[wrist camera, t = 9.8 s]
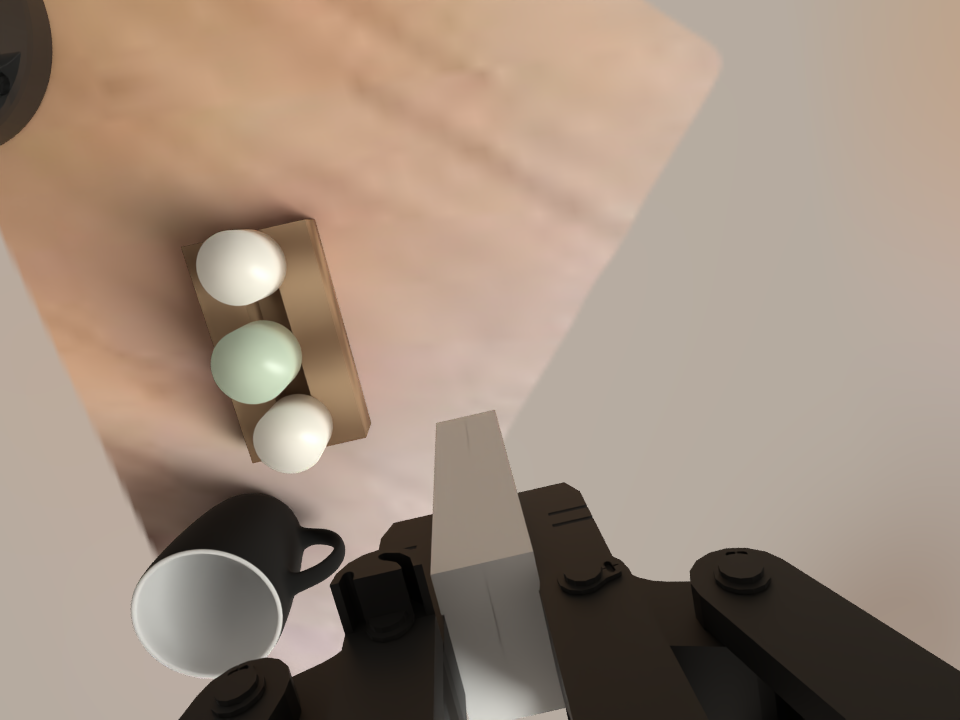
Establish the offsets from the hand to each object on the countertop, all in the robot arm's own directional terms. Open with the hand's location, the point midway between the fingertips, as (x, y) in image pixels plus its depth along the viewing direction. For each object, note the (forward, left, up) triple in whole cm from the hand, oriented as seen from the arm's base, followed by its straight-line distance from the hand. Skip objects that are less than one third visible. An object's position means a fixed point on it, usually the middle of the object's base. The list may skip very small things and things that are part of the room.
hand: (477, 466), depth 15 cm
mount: (0, -12, -28) cm, 31 cm away
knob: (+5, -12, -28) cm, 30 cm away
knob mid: (-1, -12, -25) cm, 28 cm away
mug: (+14, -17, -29) cm, 36 cm away
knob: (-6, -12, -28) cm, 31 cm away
